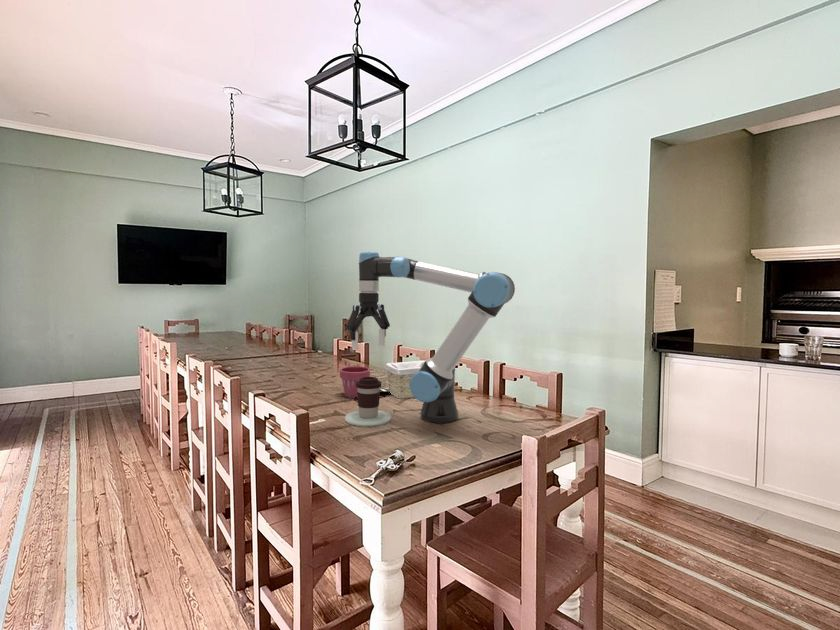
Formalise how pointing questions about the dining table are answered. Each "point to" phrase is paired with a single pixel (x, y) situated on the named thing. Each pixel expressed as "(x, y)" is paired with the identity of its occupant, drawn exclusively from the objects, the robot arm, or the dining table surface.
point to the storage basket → (402, 377)
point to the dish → (368, 419)
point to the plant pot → (352, 379)
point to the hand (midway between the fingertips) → (368, 347)
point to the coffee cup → (368, 396)
